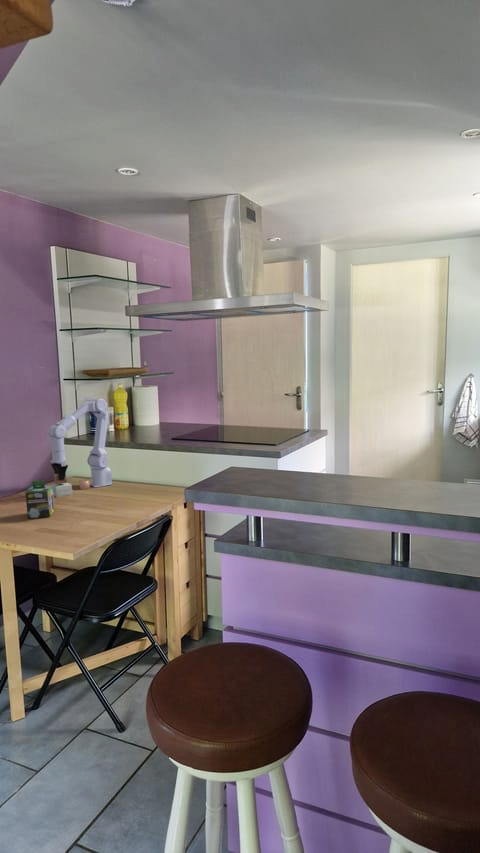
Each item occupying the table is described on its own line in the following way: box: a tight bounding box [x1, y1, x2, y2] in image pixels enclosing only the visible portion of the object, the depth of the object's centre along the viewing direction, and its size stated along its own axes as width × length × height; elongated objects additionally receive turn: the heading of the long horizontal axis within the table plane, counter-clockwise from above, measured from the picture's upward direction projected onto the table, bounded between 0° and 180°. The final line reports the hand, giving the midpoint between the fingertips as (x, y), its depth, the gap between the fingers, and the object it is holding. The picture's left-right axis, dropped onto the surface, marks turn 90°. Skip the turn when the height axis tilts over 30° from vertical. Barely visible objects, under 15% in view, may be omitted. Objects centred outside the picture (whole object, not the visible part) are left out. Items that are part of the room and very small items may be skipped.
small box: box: [51, 482, 73, 498], centre depth 257 cm, size 8×8×5 cm
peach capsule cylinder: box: [78, 478, 91, 490], centre depth 268 cm, size 5×5×4 cm
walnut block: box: [53, 473, 68, 484], centre depth 256 cm, size 4×4×4 cm
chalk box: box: [24, 480, 56, 519], centre depth 224 cm, size 9×9×15 cm
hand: (60, 478), depth 256 cm, fingers closed on walnut block, 4 cm apart
